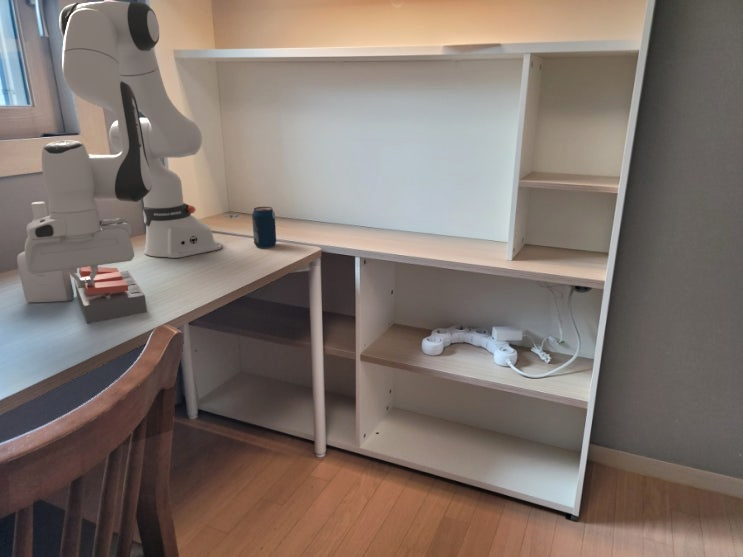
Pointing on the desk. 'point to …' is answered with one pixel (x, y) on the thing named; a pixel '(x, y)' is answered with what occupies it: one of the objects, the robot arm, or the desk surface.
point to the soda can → (264, 227)
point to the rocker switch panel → (112, 302)
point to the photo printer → (45, 284)
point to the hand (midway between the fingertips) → (86, 286)
